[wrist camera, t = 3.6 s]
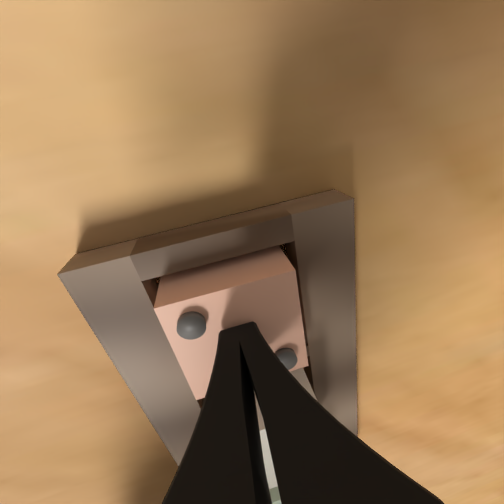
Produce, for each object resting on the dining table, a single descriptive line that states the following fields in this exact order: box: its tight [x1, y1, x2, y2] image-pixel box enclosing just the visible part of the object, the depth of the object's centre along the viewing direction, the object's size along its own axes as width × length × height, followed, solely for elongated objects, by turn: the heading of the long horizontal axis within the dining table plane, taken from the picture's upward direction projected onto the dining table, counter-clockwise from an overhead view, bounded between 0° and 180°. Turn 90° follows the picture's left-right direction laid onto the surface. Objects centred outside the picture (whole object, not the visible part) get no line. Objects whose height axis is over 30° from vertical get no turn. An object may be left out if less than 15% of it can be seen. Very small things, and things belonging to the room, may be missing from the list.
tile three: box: [154, 245, 309, 400], centre depth 11 cm, size 5×5×3 cm
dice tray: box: [57, 189, 357, 466], centre depth 15 cm, size 21×11×2 cm, turn 11°
